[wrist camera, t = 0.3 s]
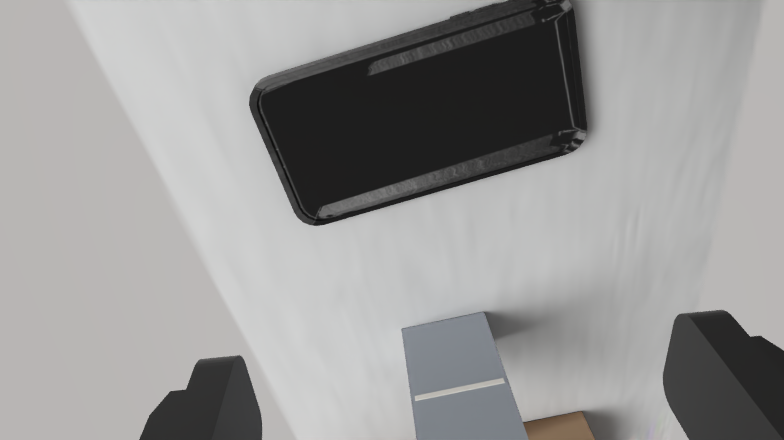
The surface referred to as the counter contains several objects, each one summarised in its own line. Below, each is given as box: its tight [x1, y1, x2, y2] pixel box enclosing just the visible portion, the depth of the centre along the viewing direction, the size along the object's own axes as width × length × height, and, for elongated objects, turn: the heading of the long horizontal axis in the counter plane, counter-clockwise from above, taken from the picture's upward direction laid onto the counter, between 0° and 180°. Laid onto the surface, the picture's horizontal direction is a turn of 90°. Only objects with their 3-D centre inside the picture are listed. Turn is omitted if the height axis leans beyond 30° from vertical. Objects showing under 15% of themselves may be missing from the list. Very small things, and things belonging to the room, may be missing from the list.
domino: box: [402, 312, 529, 440], centre depth 29 cm, size 2×5×11 cm, turn 102°
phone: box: [249, 0, 587, 226], centre depth 27 cm, size 8×1×15 cm
